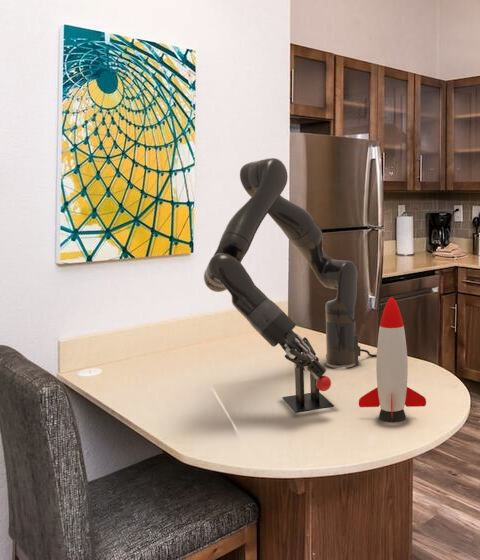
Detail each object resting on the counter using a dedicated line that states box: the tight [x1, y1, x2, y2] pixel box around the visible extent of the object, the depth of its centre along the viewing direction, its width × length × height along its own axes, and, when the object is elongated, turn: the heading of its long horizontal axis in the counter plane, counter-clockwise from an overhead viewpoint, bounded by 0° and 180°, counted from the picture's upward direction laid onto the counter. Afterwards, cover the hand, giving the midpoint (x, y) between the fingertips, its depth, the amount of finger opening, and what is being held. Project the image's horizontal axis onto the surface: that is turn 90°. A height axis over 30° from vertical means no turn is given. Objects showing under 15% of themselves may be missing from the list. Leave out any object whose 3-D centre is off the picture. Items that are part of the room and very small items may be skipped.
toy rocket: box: [358, 296, 427, 424], centre depth 147 cm, size 11×11×30 cm
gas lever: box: [304, 367, 332, 392], centre depth 151 cm, size 16×4×4 cm, turn 25°
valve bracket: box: [282, 355, 335, 414], centre depth 157 cm, size 12×10×13 cm
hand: (323, 374), depth 145 cm, fingers closed
